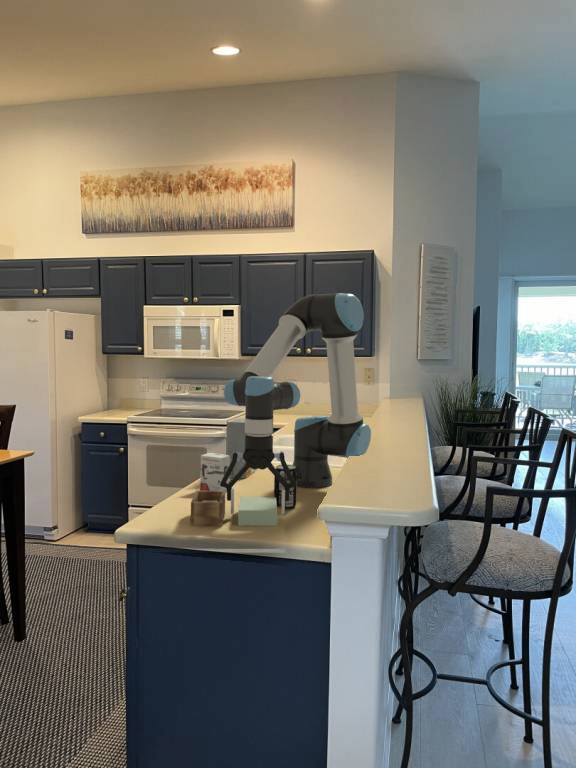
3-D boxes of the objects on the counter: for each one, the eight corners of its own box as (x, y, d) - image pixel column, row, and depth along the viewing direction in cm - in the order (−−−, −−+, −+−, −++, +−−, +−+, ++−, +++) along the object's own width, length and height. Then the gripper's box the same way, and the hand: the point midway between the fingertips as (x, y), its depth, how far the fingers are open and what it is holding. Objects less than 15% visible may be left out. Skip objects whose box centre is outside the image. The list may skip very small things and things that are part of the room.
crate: (225, 515, 172) (225, 490, 172) (222, 529, 160) (222, 502, 159) (195, 515, 172) (196, 490, 172) (190, 529, 159) (190, 502, 159)
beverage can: (283, 502, 188) (284, 463, 187) (300, 506, 184) (301, 466, 183) (269, 507, 183) (269, 466, 182) (286, 511, 179) (287, 469, 178)
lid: (275, 514, 175) (275, 497, 175) (276, 529, 161) (277, 510, 161) (239, 514, 175) (240, 496, 174) (238, 529, 161) (238, 510, 160)
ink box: (199, 490, 201) (199, 454, 200) (207, 488, 205) (208, 452, 205) (221, 494, 197) (221, 457, 196) (230, 491, 201) (230, 455, 201)
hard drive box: (246, 479, 220) (247, 422, 219) (225, 477, 222) (226, 421, 220) (257, 470, 235) (258, 417, 234) (237, 469, 237) (238, 417, 236)
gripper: (304, 432, 171) (303, 509, 172) (213, 431, 170) (212, 508, 171) (306, 436, 163) (305, 516, 165) (210, 435, 162) (210, 516, 164)
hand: (257, 512), depth 168 cm, fingers open, 13 cm apart
